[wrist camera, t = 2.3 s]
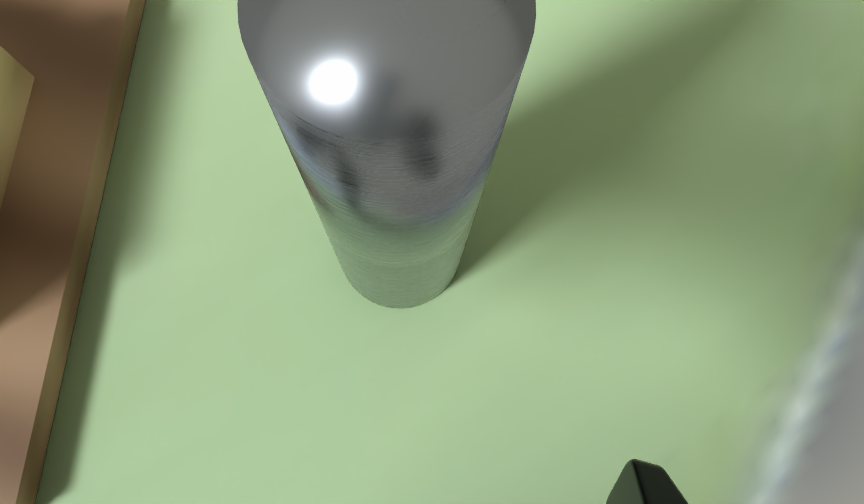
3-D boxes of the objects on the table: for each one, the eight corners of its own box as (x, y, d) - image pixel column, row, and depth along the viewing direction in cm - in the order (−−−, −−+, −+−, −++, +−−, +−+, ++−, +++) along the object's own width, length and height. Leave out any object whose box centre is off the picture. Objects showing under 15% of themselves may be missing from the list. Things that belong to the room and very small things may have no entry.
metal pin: (456, 313, 21) (530, 152, 8) (333, 302, 21) (214, 125, 8) (464, 196, 22) (541, -107, 9) (346, 186, 22) (261, -133, 9)
